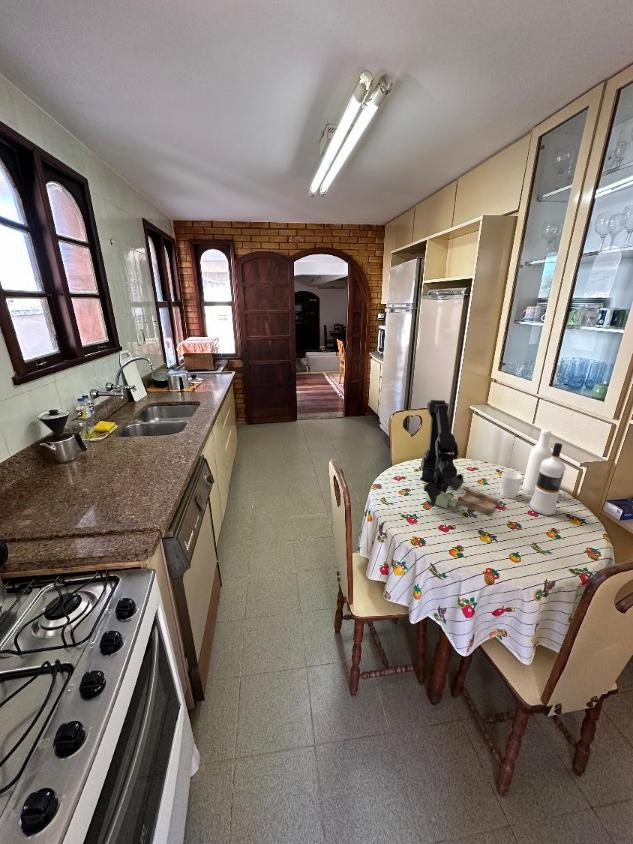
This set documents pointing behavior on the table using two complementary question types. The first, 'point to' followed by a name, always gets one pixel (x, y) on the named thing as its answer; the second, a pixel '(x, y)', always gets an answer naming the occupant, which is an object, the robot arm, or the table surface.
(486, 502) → the rest
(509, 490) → the white cup
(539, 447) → the bottle
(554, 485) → the vodka
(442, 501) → the bottle
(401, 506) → the table surface
